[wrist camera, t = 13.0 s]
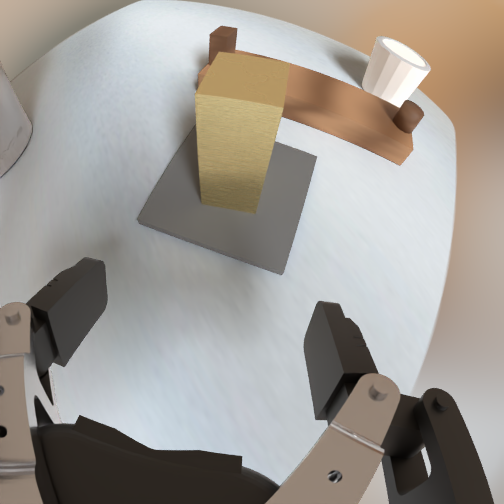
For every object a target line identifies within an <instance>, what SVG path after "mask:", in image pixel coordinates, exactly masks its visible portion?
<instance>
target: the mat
mask: <svg viewBox="0 0 504 504" xmlns="http://www.w3.org/2000/svg"><path fill="white" fill-rule="evenodd" d="M316 159H317V156H314V155H312V154H309V153H306V152H304V151H301V150H298V149H295V148H292V147H290V146H287V145H284V144H281V143H278V142H274V146H273V150H272V153H271V157H270V161H269V165H268V169H267V172H266V176H265V180H264V184H263V188H262V191H261V195H260V199H259V203H258V207H257V211H256V214H251V213H246V212H241V211H236V210H231V209H225V208H220V207H215V206H209V205H203V204H202V203H201V191H200V178H199V164H198V148H197V130H196V125H195V126H194V128H193V129H192V130H191V132H190V133H189V135H188V136H187V138H186V139H185V141H184V142H183V144H182V145H181V147H180V148H179V150H178V151H177V153H176V154H175V156H174V158H173V159H172V161H171V162H170V164H169V165H168V167H167V169H166V170H165V172H164V173H163V175H162V177H161V178H160V180H159V182H158V183H157V185H156V187H155V188H154V190H153V192H152V194H151V195H150V197H149V199H148V200H147V202H146V204H145V206H144V208H143V209H142V211H141V213H140V215H139V217H138V218H137V220H138V222H139V224H142V225H144V226H147V227H150V228H152V229H155V230H158V231H161V232H163V233H166V234H169V235H171V236H174V237H177V238H180V239H182V240H185V241H188V242H190V243H193V244H196V245H199V246H201V247H204V248H207V249H210V250H212V251H215V252H218V253H221V254H223V255H226V256H229V257H232V258H235V259H237V260H240V261H243V262H246V263H249V264H251V265H254V266H257V267H260V268H263V269H265V270H268V271H271V272H274V273H277V274H279V275H282V274H283V273H284V270H285V266H286V263H287V260H288V257H289V253H290V250H291V247H292V243H293V240H294V237H295V233H296V230H297V226H298V223H299V220H300V216H301V213H302V209H303V206H304V202H305V199H306V195H307V192H308V188H309V184H310V181H311V177H312V173H313V170H314V166H315V162H316Z"/></svg>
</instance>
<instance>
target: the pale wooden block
mask: <svg viewBox="0 0 504 504" xmlns="http://www.w3.org/2000/svg"><path fill="white" fill-rule="evenodd" d="M289 67H290V63H287V62H282V61H277V60H272V59H267V58H261V57H255V56H249V55H242V54H234V53H226V52H218V54H217V56H216V57H215V59H214V61H213V62H212V64H211V66H210V68H209V69H208V71H207V73H206V75H205V76H204V78H203V80H202V82H201V84H200V85H199V87H198V89H197V91H196V93H195V108H196V130H197V148H198V164H199V178H200V191H201V203H202V204H203V205H209V206H215V207H220V208H225V209H231V210H236V211H241V212H246V213H251V214H256V211H257V207H258V203H259V199H260V195H261V191H262V188H263V184H264V180H265V176H266V172H267V169H268V165H269V161H270V157H271V153H272V150H273V146H274V142H275V138H276V135H277V131H278V127H279V123H280V119H281V116H282V112H283V108H284V102H285V95H286V88H287V81H288V74H289Z"/></svg>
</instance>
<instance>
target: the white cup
mask: <svg viewBox="0 0 504 504" xmlns="http://www.w3.org/2000/svg"><path fill="white" fill-rule="evenodd" d="M430 70H431V68H430V65H429V64H428V63H427V62H426V60H424V58H423V57H421V56H420V55H419V54H418V53H416V52H415V51H414V50H412V49H411V48H409V47H408V46H406V45H404V44H402V43H400V42H398V41H396V40H394V39H391V38H388V37H383V36H380V37H377V39H376V42H375V45H374V48H373V51H372V54H371V57H370V60H369V63H368V66H367V69H366V72H365V75H364V78H363V81H362V88H363V90H364V91H366V92H368V93H371V94H373V95H375V96H377V97H379V98H381V99H383V100H385V101H387V102H389V103H391V104H393V105H395V106H397V107H399V108H400V107H401V105H402V104H403V102H404V101H405V100H407V99H408V98H409V96H410V95H411V94H412V93H413V91H414V90H415V89H416V88H417V86H418V85H419V84H420V83H421V81H422V80H423V79H424V78H425V76H426V75H427V74H428V73H429V71H430Z"/></svg>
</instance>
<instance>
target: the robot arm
mask: <svg viewBox="0 0 504 504" xmlns="http://www.w3.org/2000/svg"><path fill="white" fill-rule="evenodd" d="M31 133H32V124H31V122H30V120H29V118H28V117H27V115H26V113H25V111H24V109H23V107H22V105H21V103H20V102H19V100H18V97H17V95H16V93H15V91H14V89H13V87H12V85H11V83H10V81H9V79H8V77H7V75H6V73H5V71H4V68H3V66H2V64H1V62H0V177H1V176H2V175H3V174H4V173H5V172H7V171H8V169H9V168H10V167H11V166H12V165H13V164H14V163H15V162H16V160H17V159H18V158H19V156H20V155H21V153H22V152H23V150H24V149H25V147H26V145H27V143H28V142H29V139H30V136H31ZM106 305H107V286H106V273H105V264H104V262H103V261H101V260H96V259H92V258H88V257H85V258H83V259H82V260H81V261H79V262H78V263H77V264H76V265H75V266H74V267H71V268H69V269H66V270H64V271H62V272H60V273H59V274H58V275H57V276H56V277H55V278H53V280H51V281H50V282H49V283H48V284H47V286H44V287H43V288H42V289H41V290H40V291H39V292H38V293H37V294H36V295H35V296H33V297H32V298H31V299H30V300H29V301H28V302H27V303H26V304H24V303H20V302H14V303H9V304H7V305H5V306H3V307H2V308H0V504H358V503H359V501H360V499H361V498H362V496H363V494H364V492H365V491H366V489H367V487H368V485H369V483H370V481H371V479H372V478H373V476H374V474H375V472H376V470H377V468H378V466H379V464H380V462H381V461H382V465H383V470H384V476H385V482H386V487H387V493H388V499H389V504H494V502H493V498H492V495H491V491H490V488H489V485H488V482H487V479H486V476H485V473H484V470H483V467H482V464H481V461H480V459H479V456H478V453H477V451H476V448H475V446H474V444H473V441H472V438H471V436H470V434H469V431H468V429H467V427H466V424H465V422H464V420H463V417H462V415H461V413H460V411H459V409H458V407H457V404H456V402H455V401H454V399H453V398H452V396H450V395H449V394H448V393H447V392H445V391H443V390H441V389H438V388H431V389H428V390H427V391H426V392H425V393H424V394H423V395H422V397H421V398H416V397H411V396H407V395H403V394H400V391H399V388H398V387H397V385H396V384H395V383H394V382H393V381H392V380H391V379H389V378H388V377H386V376H384V375H381V374H379V373H378V371H377V368H376V366H375V364H374V361H373V359H372V356H371V354H370V352H369V349H368V347H366V343H365V340H364V339H363V336H362V333H361V331H360V329H359V327H358V326H357V325H356V324H355V323H354V322H353V321H352V320H351V319H350V318H345V316H344V313H343V311H342V309H341V306H340V304H338V303H331V302H324V301H318V303H317V304H316V307H315V309H314V312H313V315H312V318H311V321H310V323H309V326H308V329H307V332H306V335H305V339H304V354H305V359H306V365H307V371H308V377H309V383H310V389H311V395H312V401H313V407H314V414H315V420H327V422H328V427H327V429H326V430H325V431H324V433H323V434H322V435H321V437H320V438H319V439H318V441H317V442H316V443H315V445H314V446H313V447H312V449H311V450H310V451H309V452H308V454H307V455H306V456H305V457H304V459H303V460H302V461H301V462H300V464H299V465H298V466H297V467H296V468H295V469H294V471H293V472H292V473H291V474H290V475H289V476H288V477H287V479H286V480H285V481H284V482H283V483H282V484H281V485H280V486H279V485H277V484H276V483H275V482H274V481H272V480H271V479H269V478H268V477H266V476H264V475H262V474H260V473H258V472H256V471H254V470H251V469H249V468H246V467H243V466H242V456H236V455H228V454H220V453H213V452H207V451H201V450H154V449H151V448H148V447H146V446H145V445H143V444H141V443H139V442H137V441H135V440H134V439H132V438H130V437H128V436H127V435H125V434H123V433H121V432H120V431H118V430H117V429H115V428H112V427H109V426H107V425H104V424H101V423H98V422H96V421H93V420H91V419H88V418H86V417H83V416H81V415H79V417H78V419H77V421H76V423H75V424H66V423H62V421H61V418H60V415H59V412H58V407H57V402H56V397H55V391H54V385H53V378H52V372H51V369H50V366H51V364H52V363H53V362H54V363H56V364H58V365H61V366H63V367H65V365H66V364H67V362H68V361H69V359H70V358H71V356H72V355H73V354H74V352H75V351H76V349H77V348H78V346H79V345H80V343H81V342H82V341H83V339H84V338H85V336H86V335H87V334H88V332H89V331H90V329H91V328H92V327H93V325H94V324H95V323H96V321H97V320H98V319H99V317H100V316H101V315H102V313H103V312H104V310H105V308H106ZM424 447H426V451H427V454H428V457H429V460H430V464H431V474H430V476H429V478H428V474H427V471H426V466H425V463H424V459H423V456H422V453H421V450H422V449H423V448H424Z"/></svg>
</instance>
